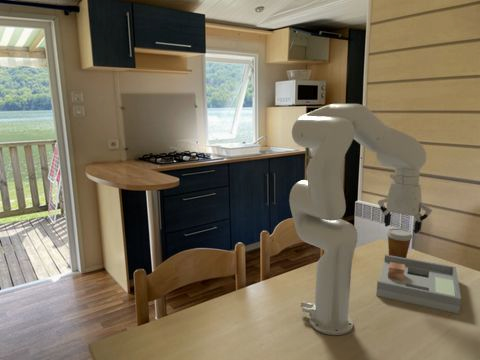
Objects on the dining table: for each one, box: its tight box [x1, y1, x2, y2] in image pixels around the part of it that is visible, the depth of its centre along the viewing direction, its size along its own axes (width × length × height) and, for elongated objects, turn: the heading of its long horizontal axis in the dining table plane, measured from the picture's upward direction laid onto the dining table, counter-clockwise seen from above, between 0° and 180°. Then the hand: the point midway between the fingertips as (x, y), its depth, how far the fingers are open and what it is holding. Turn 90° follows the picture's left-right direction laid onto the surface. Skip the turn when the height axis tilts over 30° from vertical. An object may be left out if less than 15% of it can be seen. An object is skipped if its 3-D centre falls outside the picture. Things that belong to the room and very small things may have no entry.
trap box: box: [375, 254, 462, 315], centre depth 128 cm, size 24×25×5 cm
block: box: [388, 262, 405, 281], centre depth 131 cm, size 5×5×4 cm
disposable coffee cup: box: [386, 227, 413, 258], centre depth 151 cm, size 10×10×12 cm
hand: (401, 228), depth 126 cm, fingers open, 9 cm apart
